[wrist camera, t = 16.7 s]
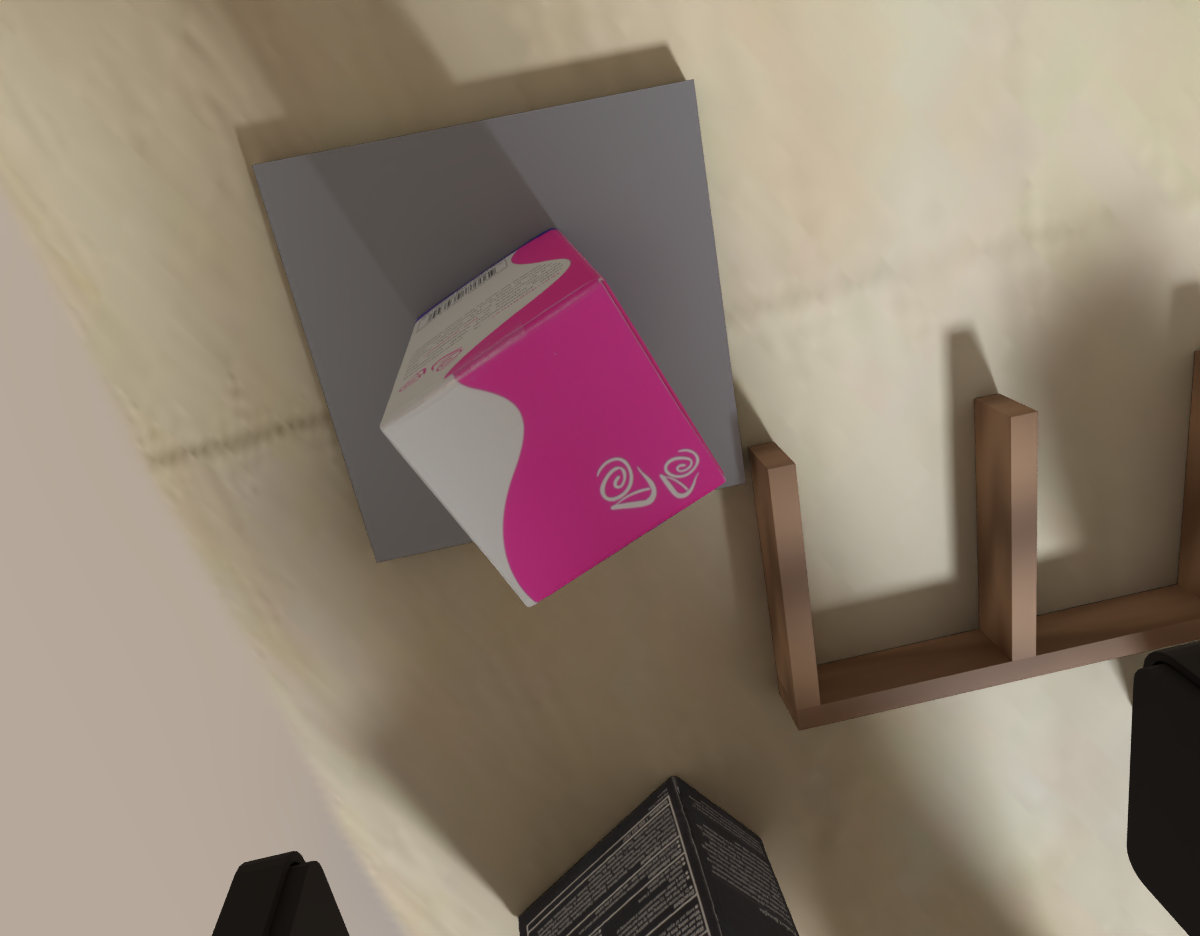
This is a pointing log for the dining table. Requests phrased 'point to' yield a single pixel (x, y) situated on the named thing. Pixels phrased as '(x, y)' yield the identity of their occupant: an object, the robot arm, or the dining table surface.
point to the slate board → (482, 238)
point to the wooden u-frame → (1005, 584)
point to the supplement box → (544, 419)
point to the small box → (667, 878)
